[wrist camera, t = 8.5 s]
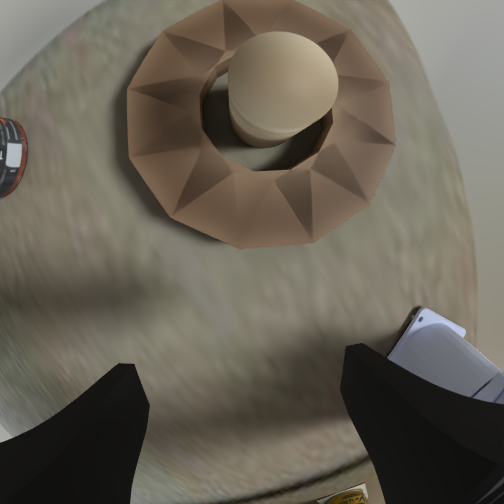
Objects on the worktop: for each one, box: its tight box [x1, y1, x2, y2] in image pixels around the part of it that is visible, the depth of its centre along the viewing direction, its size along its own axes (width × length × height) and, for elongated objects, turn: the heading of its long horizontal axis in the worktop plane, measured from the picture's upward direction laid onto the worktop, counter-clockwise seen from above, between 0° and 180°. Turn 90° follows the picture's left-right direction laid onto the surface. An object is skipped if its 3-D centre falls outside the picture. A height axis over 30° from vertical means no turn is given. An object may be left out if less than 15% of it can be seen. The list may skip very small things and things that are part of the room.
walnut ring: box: [127, 0, 396, 249], centre depth 14 cm, size 15×15×2 cm
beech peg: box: [228, 32, 338, 148], centre depth 12 cm, size 4×4×7 cm
